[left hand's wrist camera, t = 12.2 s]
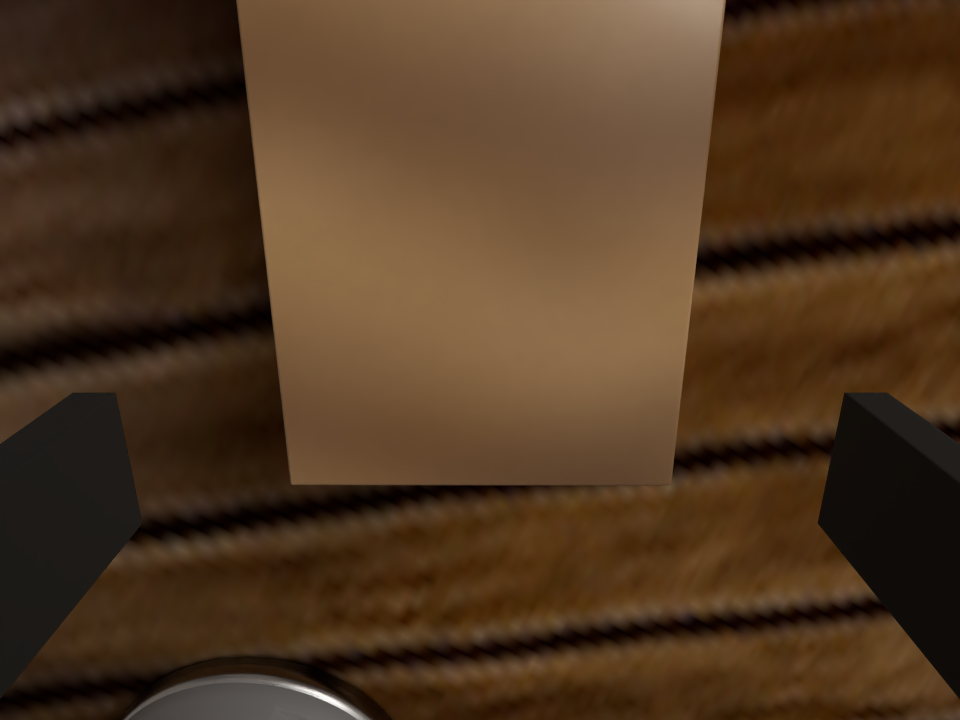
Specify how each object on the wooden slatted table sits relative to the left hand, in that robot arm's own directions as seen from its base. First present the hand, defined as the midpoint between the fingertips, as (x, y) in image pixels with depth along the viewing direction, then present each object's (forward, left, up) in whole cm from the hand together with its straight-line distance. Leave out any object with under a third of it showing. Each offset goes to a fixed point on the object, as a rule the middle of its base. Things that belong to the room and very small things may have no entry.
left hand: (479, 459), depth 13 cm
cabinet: (+1, +6, -14) cm, 16 cm away
